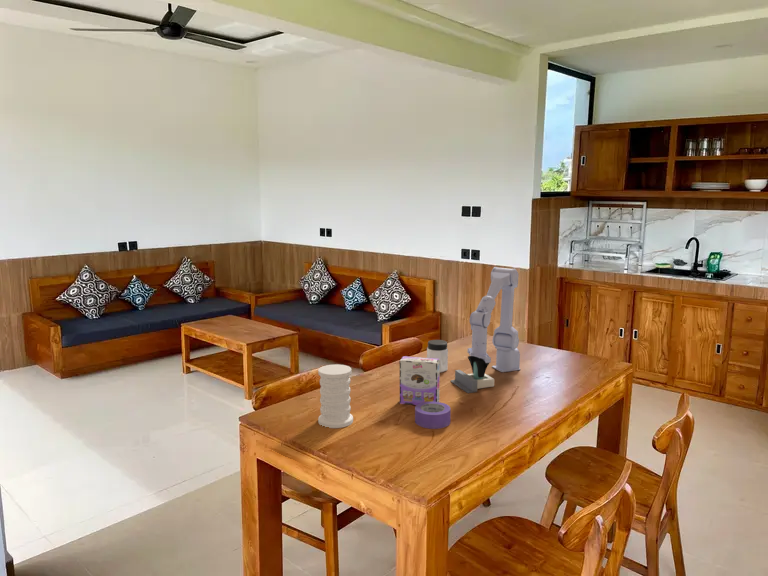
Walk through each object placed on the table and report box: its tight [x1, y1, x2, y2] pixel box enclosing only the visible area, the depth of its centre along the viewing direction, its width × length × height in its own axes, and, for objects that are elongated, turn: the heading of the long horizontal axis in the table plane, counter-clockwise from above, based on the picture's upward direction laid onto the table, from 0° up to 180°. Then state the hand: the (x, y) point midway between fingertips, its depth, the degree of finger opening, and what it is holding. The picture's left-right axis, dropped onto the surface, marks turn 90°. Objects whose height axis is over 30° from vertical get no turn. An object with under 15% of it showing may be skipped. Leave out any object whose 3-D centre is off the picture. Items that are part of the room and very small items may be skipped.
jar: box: [426, 339, 449, 373], centre depth 250 cm, size 9×8×12 cm
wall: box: [450, 369, 478, 394], centre depth 230 cm, size 4×14×4 cm, turn 21°
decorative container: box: [317, 363, 354, 429], centre depth 195 cm, size 12×12×18 cm
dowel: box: [472, 362, 483, 380], centre depth 231 cm, size 4×4×7 cm
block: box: [466, 372, 495, 390], centre depth 232 cm, size 9×9×3 cm
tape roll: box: [414, 401, 452, 430], centre depth 196 cm, size 12×12×5 cm
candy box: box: [398, 355, 441, 406], centre depth 212 cm, size 14×6×16 cm, turn 74°
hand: (478, 375), depth 232 cm, fingers closed on dowel, 4 cm apart
